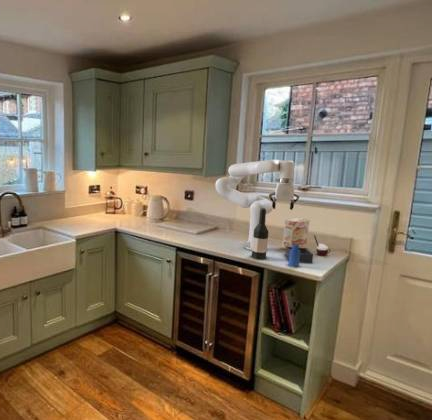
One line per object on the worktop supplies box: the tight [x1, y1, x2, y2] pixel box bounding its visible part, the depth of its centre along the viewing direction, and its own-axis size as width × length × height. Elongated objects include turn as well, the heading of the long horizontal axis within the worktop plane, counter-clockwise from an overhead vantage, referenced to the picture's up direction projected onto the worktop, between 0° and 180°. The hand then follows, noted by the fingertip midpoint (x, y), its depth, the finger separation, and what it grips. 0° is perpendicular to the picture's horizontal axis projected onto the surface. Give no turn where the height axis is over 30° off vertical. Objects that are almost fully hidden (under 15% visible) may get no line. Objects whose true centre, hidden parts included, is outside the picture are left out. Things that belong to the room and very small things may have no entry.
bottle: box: [288, 244, 300, 268], centre depth 201 cm, size 5×5×12 cm
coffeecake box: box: [281, 217, 311, 250], centre depth 234 cm, size 15×7×20 cm, turn 115°
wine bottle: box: [251, 208, 269, 261], centre depth 213 cm, size 8×8×30 cm
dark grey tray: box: [284, 247, 314, 264], centre depth 214 cm, size 12×14×5 cm
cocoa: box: [313, 234, 331, 256], centre depth 222 cm, size 10×6×12 cm, turn 53°
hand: (282, 209), depth 219 cm, fingers open, 9 cm apart
